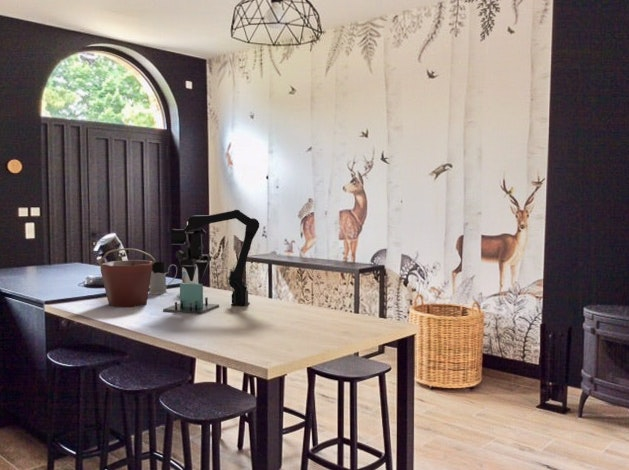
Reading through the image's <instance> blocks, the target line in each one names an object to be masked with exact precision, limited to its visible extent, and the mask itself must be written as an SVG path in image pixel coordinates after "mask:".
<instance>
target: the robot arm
mask: <svg viewBox="0 0 629 470" xmlns="http://www.w3.org/2000/svg"><path fill="white" fill-rule="evenodd" d="M229 220H238V221H239V222H240V223H242V224H243V225H245V229H244V238H243V241H242V245H241V247H240V252H239V254H238V257H237V258H238V259H237V262H236V264H235V267H234V269H230V272H229V275H228V278H227V280H228V284H229V286H230V287H231V289H233V290H232V293H231V304H230V306H237V307H238V306H240V307H244V306H247V305H250V304H251V303H250V302H249V290H247V289H248V285H247V283H245V281H243V277H244V271H245V266H246V262H247V260H248V256H249V253H250V249H251V246H252V243H253V240H254V237H255V236H256V234H257V232H258V230H259V228H260V222H259V220H258V219H257V218H254V217H249V216H248V215H246V214H244V213H243V212H242V211H241V210H240V209H233V210H230V211H229V210H228V211H224V212H219V213H213V214H209V215H207V214H205V215H204V214H203V215H196V214H195V215H192V216H190V217H189V218H188V220H187V224H186V226H185V227H184V229H183V228H182V229H181V228H180V229H179V228H178V229H176V228H172V229H171V235H170V236H171V237H170V244H171V246H173V245H174V246H175V245H179V246H180V245H181V246H183V245H185V244H186V243H188V246H186V249H185V251H182V250H181V249H180V250H177V251H175V259H177V260H178V261H179V266H180V267H182V268H183V267H184V268H185V269H186V271H187V273H188V276H189V279H190V281H193V279H194V275H195V271H196V267H197V269H198V276H199V279H203V277H204V275H205V272H206V270H207V268H208V266H209V264H210V263H211V262H212V256H211V255H210V254H203V249H205V246H204V245H203V234H204V235H205V234H207V231H205V230H204V228H203V227H205V226H208V225H210V224H214V223H219V222H220V223H221V222H224V221H229ZM200 228H201V229H200ZM192 230H193V232H191V231H192Z"/></svg>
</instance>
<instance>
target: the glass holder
mask: <svg viewBox="0 0 629 470" xmlns="http://www.w3.org/2000/svg"><path fill="white" fill-rule="evenodd" d="M172 266H174V267H175V270H176V272H175V275H174V277H173V279H172V280H171V281H169V283H167V278H166V277H167V276H166V275H167V274H169V272H170V268H171V267H172ZM177 274H178V267H177V266H176V264H170V265H169V266H168V268H167V272H166V263H165V262H164V261H163V262H161V261H155V263H154V264H153V265H152V273H151V279H150V286H149V292H148V295H163V294H167V293H168V291H167V288H168V286H169V285H170V284H172V282H174V280H175V279H176V277H177Z"/></svg>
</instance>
